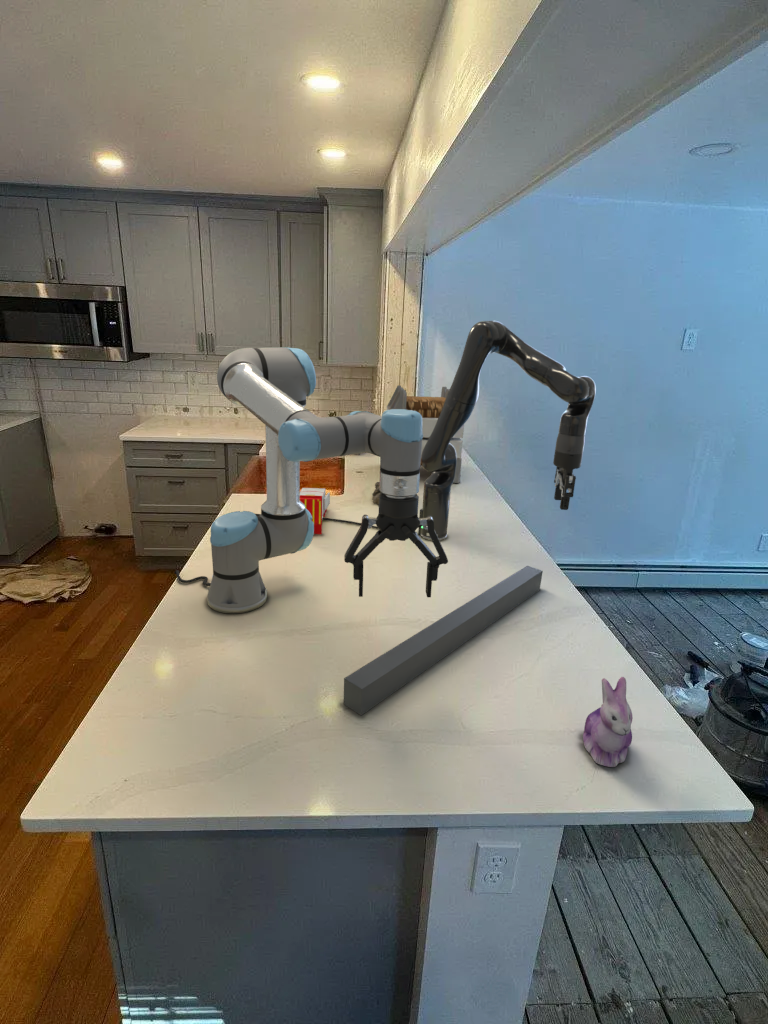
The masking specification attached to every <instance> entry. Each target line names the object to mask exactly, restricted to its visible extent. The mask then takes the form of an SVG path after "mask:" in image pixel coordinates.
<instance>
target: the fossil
mask: <svg viewBox="0 0 768 1024" xmlns="http://www.w3.org/2000/svg"><path fill="white" fill-rule="evenodd" d="M379 483H380V481H376V482H375V483H374V488H375V489H374V490H373V493H372V494H371V495H372V496H371V497H372V502H373V503H374V504H376V505H379V494H380V493H381V491H380V490H379Z"/></svg>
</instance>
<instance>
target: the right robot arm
mask: <svg viewBox="0 0 768 1024" xmlns="http://www.w3.org/2000/svg"><path fill="white" fill-rule="evenodd" d="M470 328H471V329H470V330H469V332H468V335H467V337H466V341H465V345H464V347H463V348H464V349H463V352H462V355H461V359H460V362H459V365H458V367H457V371H456V372H455V375H454V378H453V380H452V383H451V386H450V388H449V389H450V390H449V392H448V395H447V397H446V400H445V402H444V405H443V408H442V411H441V413H440V415H439V418H438V420H437V423H436V425H435V427H434V430H433V432H432V434H431V435H430V437H429V439H428V441H427V443H426V445H425V447H424V449H423V451H422V455H421V463H422V466H421V467H423V470H424V471H426V472H428V473H431V474H430V475H429V476H428V477H427V478H426V479H425V480H424V482H423V493H422V496H423V497H422V506H421V508H420V509H419V514H418V518H419V519H420V518H426V517H427V516H432V518H433V521H434V530H435V532H436V534H437V537H438V539H439V541H440V542H441V541H444V540H446V539H447V538H448V525H449V517H450V516H449V514H450V504H451V494H452V493H451V491H452V486H453V484H454V483H453V482H454V477H455V470H456V462H457V455H456V450H455V448H454V447H453V445H452V444H450V441H451V439H452V437H453V436H454V435H455V434H456V432H457V431H458V430H459V429H460V428H461V427H462V426H463V425H464V426H465V423H466V422H467V421H468V420H469V418H470V417H471V415H472V413H473V411H474V409H475V406H476V404H477V401H478V399H479V396H480V395H479V394H480V374H481V370H482V368H483V365H484V364H485V362H486V359H487V358H488V356H489V355H490V354H491V355H492V354H498V355H500V356H503V357H505V358H509V359H510V360H512V361H513V362H514V363H515V364H517V365H518V366H519V367H520V369H521V370H522V371H523V372H524V373H525V374H526V375H527V376H528V377H530V378H532V379H533V380H534V381H537V382H538V383H539V384H541V385H543V386H545V387H547V388H548V389H549V391H551V392H552V393H553V394H554V395H555V396H557V397H558V398H559V399H560V400H562V401H563V402H566V403H567V408H566V410H564V412H563V413H562V414H561V416H560V419H559V420H560V421H559V426H558V433H557V437H556V440H555V448H554V455H553V462H552V464H553V466H555V467H556V469H555V473H554V479H553V483H554V487H555V490H554V495H553V496H554V497H553V499H554V500H555V501H560V503H559V509H560V510H562V511H568V510H569V507H570V500H571V498H573V497H574V493H575V492H574V491H575V485H576V479H577V477H576V475H575V474H574V473H573V472H574V470H578V469H580V468H581V467H582V462H583V455H584V450H585V445H586V444H585V443H586V442H585V441H586V430H587V426H588V425H587V424H588V418H589V415H590V413H591V410H592V408H593V405H594V401H595V398H596V394H597V393H596V392H597V386H596V383H595V381H594V380H593V379H592V378H591V377H590V376H587V375H579V376H576V375H573V374H572V373H570V372H568V371H567V369H566V367H565V366H564V365H563V364H562V363H560V362H559V361H557V360H555V359H553V358H551V357H550V356H548V355H546V354H545V353H543V352H542V351H540V350H537V349H536V348H535V347H532V346H531V345H530V344H528V343H527V342H525V341H524V340H523V339H521V338H520V337H519V336H517V334H515V333H514V332H513V331H512V330H511V329H509V328H508V327H507V326H506V325H504V324H503V323H502V322H500V321H497V320H481V321H478V322H476V323H475V324H473V326H472V327H470ZM254 514H255V515H256V516H260V515H261V513H254ZM322 521H329V522H330V521H331V522H339V523H340V522H341V523H345V524H351V525H356V526H357V525H358V526H361V523H362V522H358V521H351V520H346V519H345V520H344V519H340V518H339V519H337V518H329V517H323V519H322ZM371 529H377V530H379V528H378V527H377V525H372V527H371ZM417 534H418V536H419V537H420V538H421V539H424V540H426V541H432V539H431V537H430V535H429V532H428V529H427V530H426V529H424V528H423V526H422V525H419V527H418V528H417Z"/></svg>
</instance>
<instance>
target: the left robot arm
mask: <svg viewBox="0 0 768 1024" xmlns="http://www.w3.org/2000/svg"><path fill="white" fill-rule="evenodd" d="M216 380H217V386H218V388H219V390H220V392H221V394H222V395H223V397H225V398H226V399H227V400H228V401H230V402H231V403H232V404H234V405H235V406H240V407H241V406H243V407H244V408H245V409H246V410H247V411H248V412H249V413H251V414H252V415H253V416H255V418H257V419H258V420H259V421H260V422H262V423H263V424H264V425H265V426H264V427H265V470H266V473H265V474H266V476H265V477H266V481H265V482H266V483H265V484H266V500H265V501H264V502H263V503H262V504H261V505H260V514H261V515H260V516H256V515H255V514H256V513H254V512H253V511H249V510H243V511H241V510H237V511H230V512H228V513H225V514H222V515H220V516H218V517H217V518H216V519H214V521H213V522H212V523H211V526H210V538H209V542H210V547H211V548H210V549H211V559H212V560H211V561H212V578H211V582H208V581H209V578H208V576H204V575H202V576H197V577H193V578H191V579H183V578H182V577H181V575H180V570H179V569H177V570H175V571H174V572H173V573H174V574H175V575H176V578H177V580H178V582H180V583H181V584H190V583H193V582H196V581H201V580H202V585H203V586H205V587H208V591H207V605H208V606H209V607H210V608H211V609H212V610H214V611H216V612H219V613H223V614H244V613H247V612H248V613H249V612H251V611H254V610H257V609H258V608H260V607H261V606H263V605H264V604H265V603H266V602H267V599H268V589H267V587H266V584H265V583H264V580H263V578H262V576H261V573H260V561H262V560H263V561H264V560H267V559H271V558H276V557H282V556H286V555H289V554H290V555H293V554H296V553H298V552H300V551H304V550H306V549H307V548H308V547H309V546H310V545H311V543H312V541H313V538H314V535H315V534H314V523H313V522H312V516H311V514H310V512H309V511H308V510H307V509H306V508H305V505H304V504H303V503H302V502H301V501H300V491H301V489H300V488H301V484H300V482H301V462H306V463H308V462H311V461H315V460H322V459H331V458H337V457H346V456H353V455H361V454H369V455H372V456H376V457H379V459H380V460H379V462H380V463H379V482H380V483H379V490H380V491H381V493H380V494H379V504H378V514H377V516H376V517H372V516H369V515H368V514H363V515H362V516H361V522H360V523H361V525H359V528H358V530H357V532H356V534H355V535H354V537H353V539H352V541H351V543H350V544H349V546H348V547H347V550H346V551H345V552H344V559H343V560H344V563H347V564H351V565H352V566H353V575H352V576H353V577H352V578H353V580H354V581H358V597H359V598H360V597H361V598H363V596H364V561H365V560H366V558H368V556H369V555H370V554H371V553H372V552H373V551H375V549H376V548H377V547H378V546H379V545H380V544H382V543H383V542H384V541H385V540H389V541H393V542H394V541H401V542H406V540H408V539H409V540H410V542H412V543H413V544H414V545H415V546H416V547H417V549H418V550H419V551H420V552H421V553H422V555H423V556H424V557H425V559H427V562H426V563H427V564H426V579H425V594H426V598H432V588H433V587H432V586H433V582H434V581H435V582H437V580H438V576H439V575H438V574H439V568H440V566H441V565H446V564H447V565H448V563H449V559H448V556H447V554H446V552H445V549H444V548H443V546H442V543H441V541H439V539H438V537H437V534H436V532H435V530H434V521H433V518H432V516H427V517H426V518H420V519H419V501H420V500H419V498H420V497H419V495H418V493H420V479H421V477H420V475H421V466H420V464H421V449H422V438H423V432H422V416H421V414H420V413H418V412H417V411H413V410H406V409H391V410H387V409H386V410H384V411H382V413H381V415H380V414H376V413H373V412H370V411H367V410H365V411H362V410H354V411H351V412H349V413H348V414H346V415H337V416H325V417H324V416H323V417H319V416H317V415H316V414H314V413H313V412H311V411H310V410H309V409H308V408H307V407H306V406H307V397H310V396H311V395H312V394H314V392H315V389H316V386H317V375H316V369H315V366H314V363H313V361H312V359H311V358H310V356H309V355H308V353H307V352H306V351H305V350H304V349H301V348H297V347H287V346H286V347H285V346H283V347H280V346H279V347H278V346H277V347H243V348H238V349H236V350H234V351H231V352H230V353H228V354H227V355H226V356H225V357H223V359H222V361H221V362H220V363H219V365H218V368H217V372H216ZM419 525H422V526H423V528H424V529H426V530H427V529H428V532H429V535H430V537H431V539H432V543H433V546H434V548H435V550H436V552H437V556H436V555H435V554H434V553H433V551H432V550H431V548H429V546H428V545H427V544H426V543H425V541H423V540H422V539H423V538H422V537H421V536H419V535H418V532H416V530H418V529H419ZM372 526H377V527H378V528H379V529H377V531H376V532H375V534H374V535H373V537H371V538H370V540H368V542H367V543H365V545H364V546H363V547H362V548H361V549H360V550H359V551H358V548H359V547H360V545H361V543H362V541H363V540H364V538H365V536H366V535H367V533H368V530H369V529H372ZM357 551H358V552H357ZM356 552H357V553H356ZM179 575H180V576H179Z"/></svg>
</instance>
